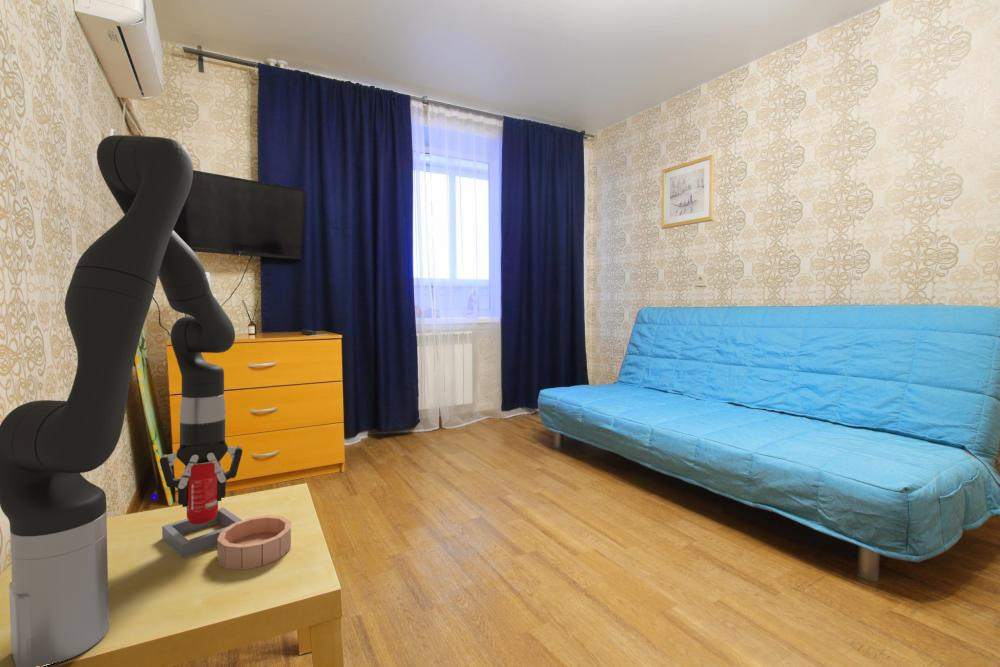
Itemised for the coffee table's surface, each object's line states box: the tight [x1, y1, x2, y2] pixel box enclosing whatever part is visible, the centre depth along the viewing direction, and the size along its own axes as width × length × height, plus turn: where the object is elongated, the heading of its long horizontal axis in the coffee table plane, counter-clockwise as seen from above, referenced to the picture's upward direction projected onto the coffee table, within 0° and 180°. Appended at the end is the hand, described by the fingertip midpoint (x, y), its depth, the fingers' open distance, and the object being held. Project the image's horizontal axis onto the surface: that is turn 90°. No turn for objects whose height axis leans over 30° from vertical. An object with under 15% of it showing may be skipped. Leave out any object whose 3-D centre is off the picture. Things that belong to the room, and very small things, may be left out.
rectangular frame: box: [161, 507, 242, 559], centre depth 89 cm, size 11×11×2 cm
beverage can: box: [186, 461, 219, 525], centre depth 89 cm, size 5×5×12 cm
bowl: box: [216, 514, 292, 570], centre depth 85 cm, size 12×12×4 cm
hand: (202, 502), depth 89 cm, fingers closed on beverage can, 5 cm apart
